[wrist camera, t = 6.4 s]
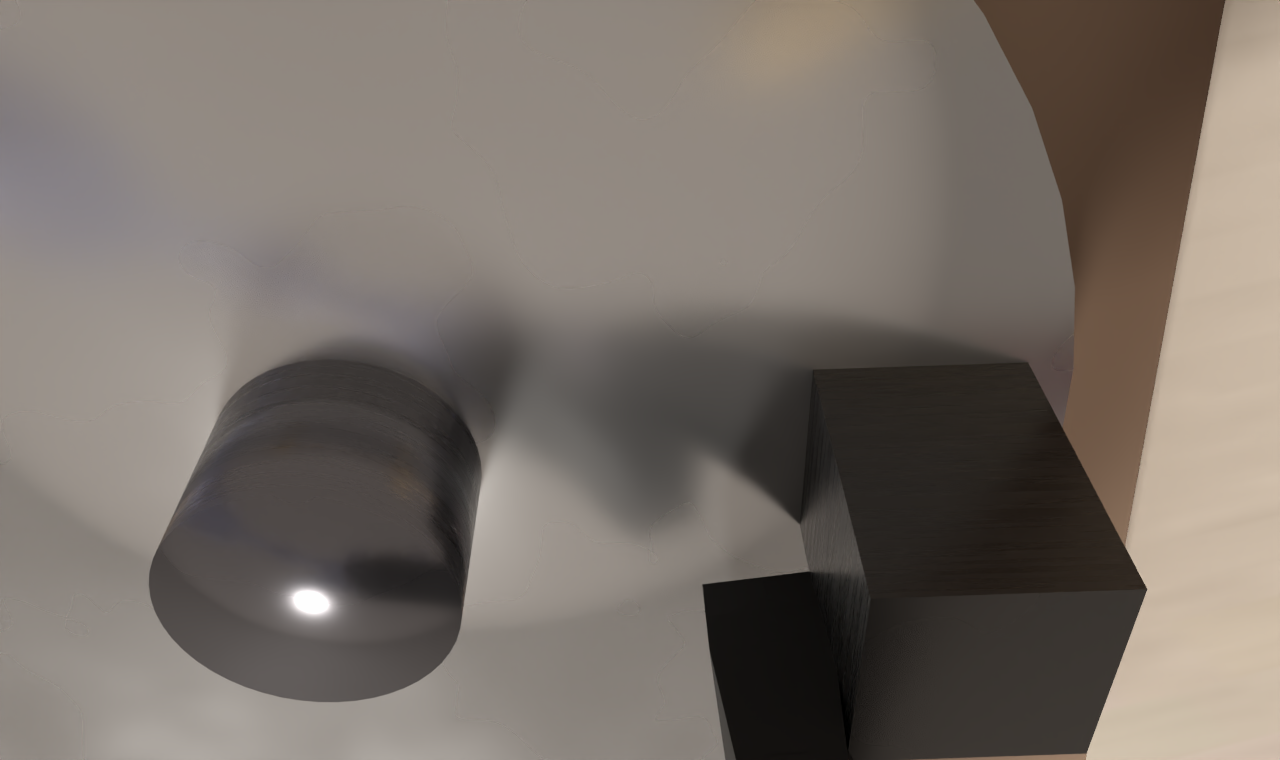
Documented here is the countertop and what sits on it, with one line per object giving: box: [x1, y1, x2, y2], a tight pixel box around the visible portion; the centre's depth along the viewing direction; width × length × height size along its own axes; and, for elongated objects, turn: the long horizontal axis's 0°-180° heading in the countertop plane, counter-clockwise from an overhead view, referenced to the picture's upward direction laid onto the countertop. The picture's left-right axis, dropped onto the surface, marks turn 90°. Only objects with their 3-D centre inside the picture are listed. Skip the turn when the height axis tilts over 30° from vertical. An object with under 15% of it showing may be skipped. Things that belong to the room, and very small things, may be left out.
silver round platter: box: [0, 0, 1147, 760], centre depth 10 cm, size 15×14×4 cm
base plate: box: [915, 0, 1225, 760], centre depth 11 cm, size 17×19×4 cm
